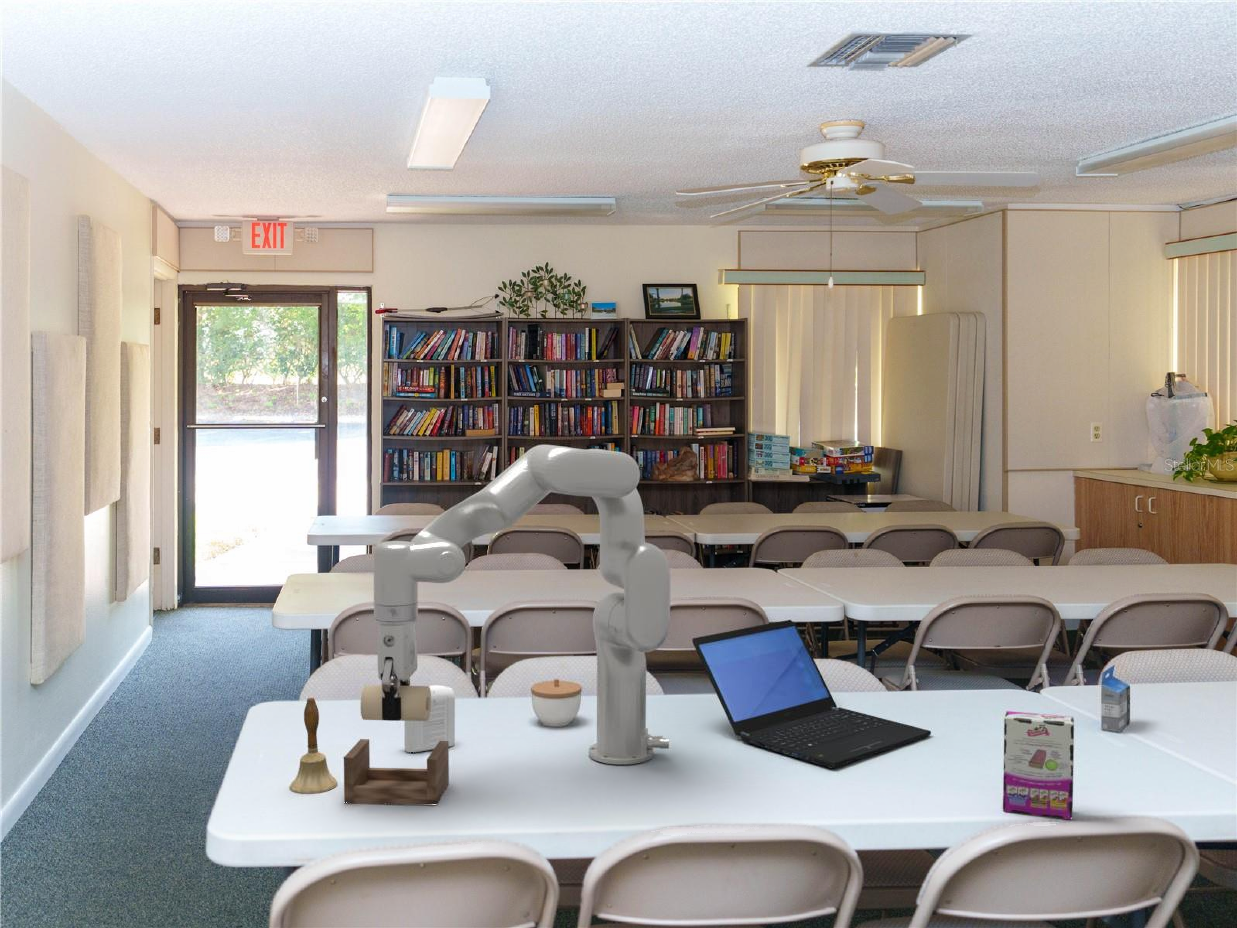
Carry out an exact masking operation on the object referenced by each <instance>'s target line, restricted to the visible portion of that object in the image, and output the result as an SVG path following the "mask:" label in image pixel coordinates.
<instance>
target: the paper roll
mask: <svg viewBox="0 0 1237 928" xmlns="http://www.w3.org/2000/svg"><path fill="white" fill-rule="evenodd" d="M429 686H430V685H424V686H423V685H410V686H400V691H399V697H401V719H400V720H399V721H400V722H401V721H402V722H405V721H428V719H429V715H430V710H431V691H430V687H429ZM394 687H395V685H394ZM360 716H361V719H362V720H363V721H384V720H383V719H382V684H365V685H364V687H363V689H362V691H361V698H360Z"/></svg>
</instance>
